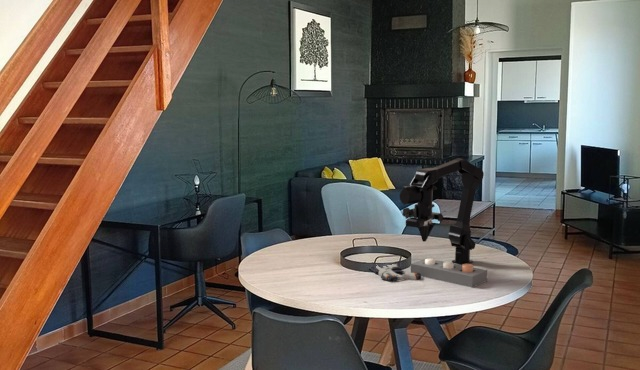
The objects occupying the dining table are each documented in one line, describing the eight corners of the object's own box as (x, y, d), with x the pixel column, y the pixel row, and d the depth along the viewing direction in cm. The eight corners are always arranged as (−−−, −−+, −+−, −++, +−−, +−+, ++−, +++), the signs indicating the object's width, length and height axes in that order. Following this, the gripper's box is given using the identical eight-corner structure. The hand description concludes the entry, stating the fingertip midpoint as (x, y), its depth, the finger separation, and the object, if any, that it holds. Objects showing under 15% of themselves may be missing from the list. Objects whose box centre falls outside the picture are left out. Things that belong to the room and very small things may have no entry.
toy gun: (424, 281, 229) (386, 285, 224) (401, 266, 247) (366, 270, 243) (424, 274, 228) (386, 278, 224) (401, 259, 247) (366, 263, 243)
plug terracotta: (465, 276, 229) (465, 263, 228) (474, 278, 226) (474, 264, 225) (459, 278, 226) (460, 265, 225) (469, 280, 223) (469, 266, 223)
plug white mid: (446, 274, 234) (446, 261, 233) (455, 276, 231) (455, 263, 231) (440, 276, 231) (441, 263, 231) (449, 278, 229) (450, 265, 228)
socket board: (426, 268, 244) (426, 258, 244) (486, 280, 227) (487, 270, 226) (410, 273, 236) (410, 263, 236) (472, 287, 219) (472, 276, 218)
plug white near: (428, 270, 239) (428, 257, 239) (436, 272, 237) (437, 259, 236) (422, 272, 237) (423, 259, 236) (431, 274, 234) (431, 261, 233)
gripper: (419, 196, 251) (419, 234, 253) (393, 203, 237) (393, 242, 239) (443, 199, 244) (443, 238, 246) (418, 206, 230) (418, 247, 232)
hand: (424, 241), depth 241 cm, fingers closed
